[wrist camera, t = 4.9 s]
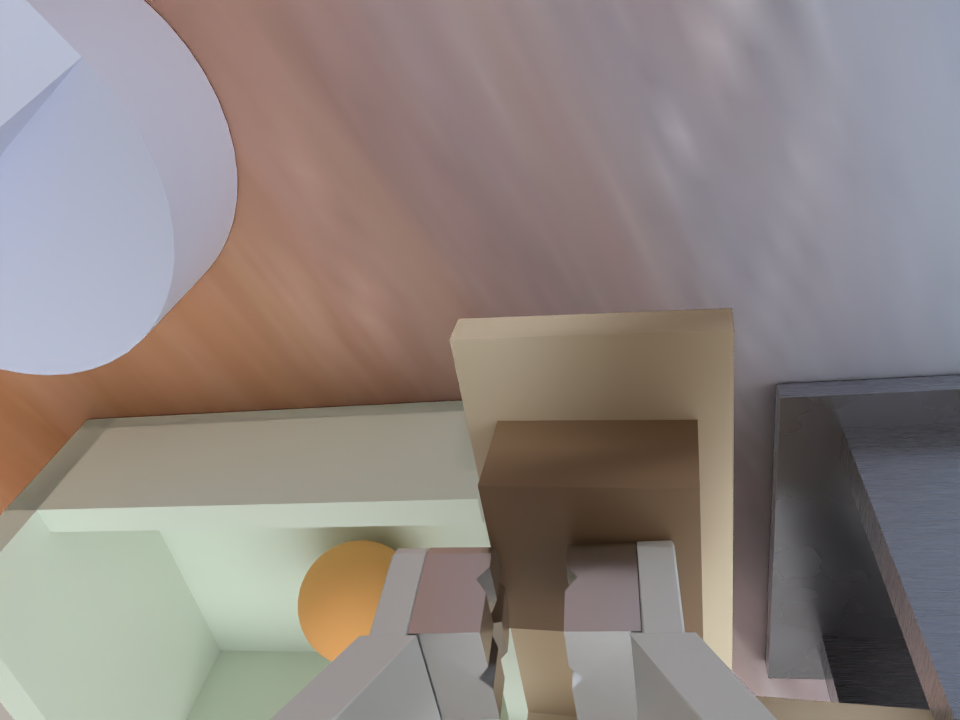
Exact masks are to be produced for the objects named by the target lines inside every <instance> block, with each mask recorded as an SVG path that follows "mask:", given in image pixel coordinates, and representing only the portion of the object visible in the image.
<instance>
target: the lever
mask: <svg viewBox="0 0 960 720" xmlns="http://www.w3.org/2000/svg"><path fill="white" fill-rule="evenodd" d="M449 340H450V345H451V350H452V355H453V359H454V364H455V369H456V374H457V378H458V383H459V388H460V392H461V397H462V402H463V407H464V411H465V416H466V421H467V425H468V430H469V435H470V440H471V444H472V449H473V454H474V458H475V463H476V468H477V473H478V477H479V483H478V490H479V494H480V499H481V504H482V508H483V513H484V518H485V522H486V527H487V532H488V536H489V541H490V546H491V547H495V548H496V549H497V551H498V555H499V559H500V563H501V570H500V579H499V582H500V583H501V584H502V585H503V586H504V587H505V588H506V593H507V598H508V608H509V628H511V633H512V638H513V643H514V647H515V652H516V657H517V661H518V666H519V671H520V676H521V680H522V685H523V690H524V694H525V699H526V704H527V709H528V717H527V720H577V714H576V708H575V702H574V696H573V691H572V676H573V670H572V669H571V668H570V667H569V665H568V658H567V651H566V644H565V637H564V606H565V590H566V589H567V588H568V587H569V585H568V577H567V570H566V553H567V547H568V544H593V543H618V542H636V548H637V542H639V541H663V540H672V542H673V544H674V546H675V555H676V563H677V571H678V579H679V587H680V596H681V604H682V612H683V620H684V628H685V632H695V633H697V634H698V635H699V636H700V637H701V638H702V640H703V641H704V642H705V643H706V644H707V645H708V646H709V647H710V648H711V649H712V650H713V651H714V652H715V653H716V655H717V656H718V657H719V658H720V659H721V660H722V661H723V662H724V663H725V664H726V665H727V666H728V667H729V669H730V670H731V671H732V619H733V451H734V323H733V314H732V308H720V309H695V310H670V311H645V312H620V313H595V314H570V315H545V316H520V317H495V318H470V319H458V321H457V323H456V326H455V328H454V330H453V332H452V334H451V337H450V339H449ZM637 560H638V558H637ZM638 572H639V571H638ZM756 698H757V699H758V700H759V701H760V702H761V703H762V704H763V705H764V706H765V707H766V708H767V709H768V710H769V711H770V713H771V714H772V715H773V716H774V717H775V718H776V719H777V720H934V719H933V716H932V713H931V710H925V709H913V708H900V707H888V706H875V705H862V704H850V703H837V702H825V701H812V700H799V699H787V698H774V697H761V696H756Z"/></svg>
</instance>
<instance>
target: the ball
mask: <svg viewBox="0 0 960 720" xmlns="http://www.w3.org/2000/svg"><path fill="white" fill-rule="evenodd" d="M395 552H396V551H395V550H393V549H392V548H390V547H388V546H386V545H384V544H381V543H378V542H374V541H368V540H356V541H349V542H345V543H342V544H339V545H337V546H335V547H333V548H331V549H329V550H328V551H326V552H325V553H324V554H322V555H321V556H320V557H319V558H318V559H317V560H316V561H315V562H314V563H313V564H312V566H311V567H310V568H309V570H308V571H307V573H306V575H305V577H304V579H303V582H302V584H301V587H300V591H299V596H298V617H299V622H300V625H301V628H302V631H303V633H304V635H305V637H306V639H307V640H308V642H309V643H310V645H311V646H312V647H313V648H314V649H315V650H316V651H317V652H318V653H319V654H320V655H322V656H323V657H324V658H326V659H328V660H329V661H331V662H332V661H333V660H334V659H335V658H336V657H337V656H338V655H340V654H341V653H342V652H343V651H344V650H345V649H346V648H347V647H348V646H349V645H350V644H351V643H352V642H353V641H355V640H356V639H357V638H358V637H359V636H369V634H370V630H371V627H372V623H373V620H374V617H375V613H376V610H377V606H378V603H379V599H380V596H381V593H382V589H383V586H384V582H385V579H386V575H387V572H388V569H389V565H390V562H391V558H392V556H393V554H394V553H395Z"/></svg>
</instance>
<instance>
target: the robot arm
mask: <svg viewBox="0 0 960 720" xmlns="http://www.w3.org/2000/svg"><path fill="white" fill-rule="evenodd" d="M637 558H638V560H637ZM500 570H501V563H500V559H499V555H498V551H497V549H496V548H495V547H446V548H398V549H397V550H396V552H395V553H394V554H393V556H392V558H391V562H390V565H389V569H388V572H387V575H386V579H385V582H384V586H383V589H382V593H381V596H380V599H379V603H378V606H377V610H376V613H375V617H374V620H373V623H372V627H371V630H370V634H369V636H359V637H358V638H357V639H356V640H355V641H353V642H352V643H351V644H350V645H349V646H348V647H347V648H346V649H345V650H344V651H343V652H342V653H341V654H340V655H338V656H337V657H336V658H335V659H334V660H333V661H332V662H331V663H330V664H329V665H328V666H327V667H326V668H325V669H323V670H322V671H321V672H320V673H319V674H318V675H317V676H316V677H315V678H314V679H313V680H312V681H311V682H310V683H309V684H307V685H306V686H305V687H304V688H303V689H302V690H301V691H300V692H299V693H298V694H297V695H296V696H295V697H294V698H292V699H291V700H290V701H289V702H288V703H287V704H286V705H285V706H284V707H283V708H282V709H281V710H280V711H279V712H277V713H276V714H275V715H274V716H273V717H272V718H271V719H270V720H500V716H501V707H502V699H503V690H504V681H505V677H504V672H503V668H502V663H501V659H502V658H503V656H504V655H505V654H506V653H507V652H508V642H509V608H508V598H507V593H506V588H505V587H504V586H503V585H502V584H501V583H500V582H499V579H500ZM566 570H567V577H568V585H569V587H568V588H567V589H566V590H565V606H564V637H565V644H566V651H567V658H568V665H569V667H570V668H571V669H572V670H573V676H572V691H573V696H574V702H575V708H576V714H577V720H777V719H776V718H775V717H774V716H773V715H772V714H771V713H770V711H769V710H768V709H767V708H766V707H765V706H764V705H763V704H762V703H761V702H760V701H759V700H758V699H757V698H756V696H755V695H754V694H753V693H752V692H751V691H750V690H749V689H748V688H747V687H746V686H745V685H744V684H743V682H742V681H741V680H740V679H739V678H738V677H737V676H736V675H735V674H734V673H733V672H732V671H731V670H730V669H729V667H728V666H727V665H726V664H725V663H724V662H723V661H722V660H721V659H720V658H719V657H718V656H717V655H716V653H715V652H714V651H713V650H712V649H711V648H710V647H709V646H708V645H707V644H706V643H705V642H704V641H703V640H702V638H701V637H700V636H699V635H698V634H697V633H695V632H685V628H684V620H683V612H682V604H681V596H680V587H679V579H678V571H677V563H676V555H675V546H674V544H673V542H672V540H663V541H639V542H637V548H636V542H618V543H593V544H568V547H567V553H566ZM638 571H639V572H638Z"/></svg>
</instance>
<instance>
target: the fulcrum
mask: <svg viewBox="0 0 960 720" xmlns="http://www.w3.org/2000/svg"><path fill="white" fill-rule="evenodd" d="M765 663H766V668H767V673H768V678H791V679H825V680H826V684H827V688H828V692H829V696H830V700H831V702H837V703H850V704H862V705H875V706H888V707H900V708H913V709H925V710H931V713H932V716H933V719H934V720H960V375H947V376H928V377H908V378H889V379H869V380H850V381H830V382H811V383H791V384H776V407H775V432H774V458H773V483H772V508H771V533H770V559H769V584H768V609H767V634H766V660H765Z"/></svg>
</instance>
